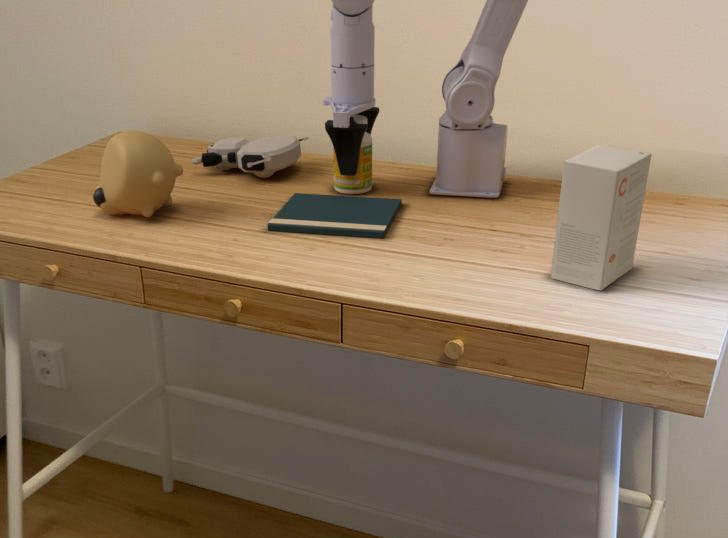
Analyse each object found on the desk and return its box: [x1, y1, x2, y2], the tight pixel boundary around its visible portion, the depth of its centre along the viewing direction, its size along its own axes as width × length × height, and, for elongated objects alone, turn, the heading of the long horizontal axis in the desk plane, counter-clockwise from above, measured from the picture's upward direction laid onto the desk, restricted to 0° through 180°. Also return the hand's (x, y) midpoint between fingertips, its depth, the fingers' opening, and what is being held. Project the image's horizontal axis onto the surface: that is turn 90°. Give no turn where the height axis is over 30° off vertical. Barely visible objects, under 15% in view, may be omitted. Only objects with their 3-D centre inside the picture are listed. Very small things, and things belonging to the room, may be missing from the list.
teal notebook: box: [267, 192, 403, 239], centre depth 121 cm, size 15×13×1 cm
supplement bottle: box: [332, 115, 373, 195], centre depth 128 cm, size 5×5×10 cm
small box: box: [550, 143, 653, 291], centre depth 100 cm, size 8×6×13 cm
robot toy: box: [191, 135, 310, 179], centre depth 138 cm, size 12×4×15 cm
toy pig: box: [92, 130, 184, 218], centre depth 122 cm, size 10×12×11 cm
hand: (352, 168), depth 129 cm, fingers closed on supplement bottle, 5 cm apart
